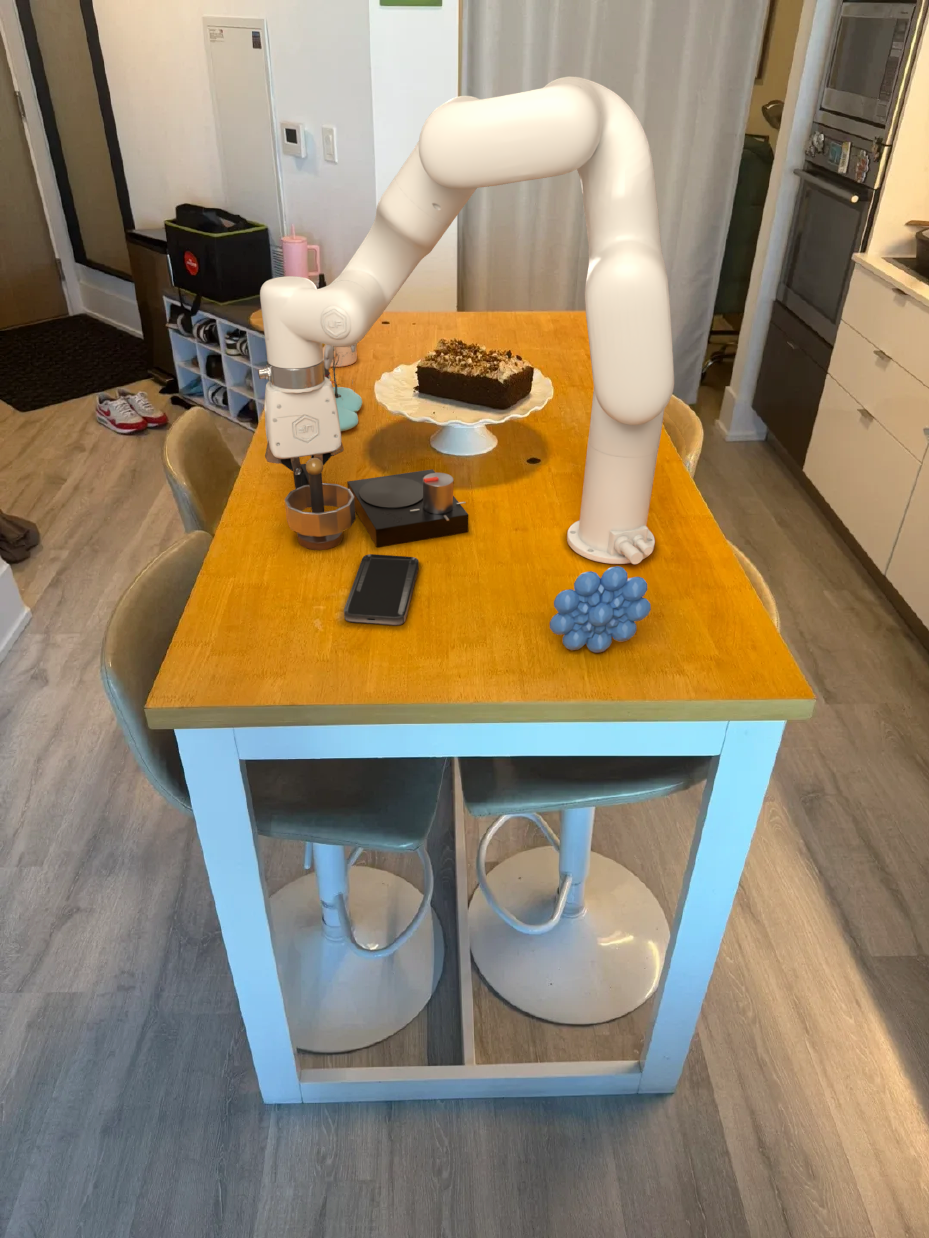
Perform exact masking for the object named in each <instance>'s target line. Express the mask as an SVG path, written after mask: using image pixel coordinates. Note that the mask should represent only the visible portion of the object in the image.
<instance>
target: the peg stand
mask: <svg viewBox="0 0 929 1238" xmlns="http://www.w3.org/2000/svg"><path fill="white" fill-rule="evenodd" d="M305 464H306V470H307V472H308V473H309V485H310V497H311V507H310V509H311V512H312V513H322V512H326V510H325V506H324V497H323V484H322V483H323V473H322V472H323V470H324V466H323V463H322V461H321V460H320V459H318V458H311V457H310V458H309V459H308V460H307V461H306V462H305ZM296 535H297V542H298V544H299V546H301V547H303V548H304V549H308V550H313V551H323V550H330V549H333V548H334V547H337V546H339V545H340V544H341V543H342V541H343V538H344V537H343V531H342V532H341V533H339V534H333V535H328V536H322V537H321V536H320V537H318V536H307V535H302V534H299V533H297V532H296Z"/></svg>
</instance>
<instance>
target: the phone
mask: <svg viewBox="0 0 929 1238" xmlns="http://www.w3.org/2000/svg"><path fill="white" fill-rule="evenodd" d="M419 561H420V560H419V559H418V558H417V557H415V556H407V555H406V556H405V555H404V556H402V555H392V554H391V555H389V554H374V553H369V554H366V555H363V557H362V558H361V560H360V564H359V566H358V570H357V572H356V575H355V578H354V580H353V583H352V586H351V589H350V591H349V594H348V597H347V599H346V602H345V604H344V605H345V606H344V609H343V618H344V621H346V622H348V623H354V624H368V625H369V624H370V625H385V626H401V625H403V624H404V623H405V622H406V620H407V616H408V612H409V608H410V604H411V600H412V597H413V592H414V588H415V584H416V581H417V576H418V573H419V568H420V567H419Z"/></svg>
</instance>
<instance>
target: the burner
mask: <svg viewBox="0 0 929 1238" xmlns="http://www.w3.org/2000/svg"><path fill="white" fill-rule="evenodd" d="M359 495H360V498H361V499H362V500H363V501H364V502H366V503H367V504H370V505H372V506H376V507H380V508H404V507H408V506H412V505H414V504H417V503H418V502H420V501H421V500H423V486H422V485H421V484H420V483H418V482H416V481H413V480H410V479H406V478H398V477H388V478H380V479H376V480H373V481H370V482H368V483H366V484H365V485H363V486H362V487H361V489H360V491H359Z"/></svg>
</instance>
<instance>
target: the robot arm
mask: <svg viewBox="0 0 929 1238" xmlns="http://www.w3.org/2000/svg"><path fill="white" fill-rule="evenodd" d="M574 171H577V174H578V177H579V179H580V180H579V181H580V186H581V192H582V204H583V213H584V218H585V224H586V236H587V249H588V269H587V273H586V280H585V286H584V309H585V318H586V326H587V327H586V328H587V335H588V345H589V354H590V363H591V373H592V382H593V392H592V403H591V413H590V421H589V432H588V439H587V448H586V457H585V466H584V476H583V483H582V484H583V486H582V494H581V503H580V512H579V520H577V521H575V522H573V523H572V524H571V525H570V527H569V528H568V530H567V534H566V541H567V544H568V546H569V547H570V549H572V550H573V551H574V553H576V554H578V555H579V556H580V557H583V558H586V559H588V560H590V561H593V562H597V563H601V564H610V565H625V564H632V565H638V564H639V563H641V562H642V561H643V560H644V559H646V558H648V557H649V556H650V555H651V554H652V553H653V552H654V549H655V543H656V539H655V536H654V534H653V532H652V531H651V530H650V529H649V527H648V526H647V524H648V519H649V511H650V504H651V499H652V493H653V492H652V491H653V486H654V478H655V472H656V467H657V460H658V453H659V448H660V443H661V436H662V429H663V423H664V416H665V409H666V407H667V406H668V404H669V403H670V400H671V399H672V396H673V393H674V388H675V372H674V371H675V368H674V367H675V366H674V350H673V349H674V348H673V332H672V315H671V300H670V289H669V278H668V272H667V266H666V262H665V259H664V255H663V250H662V243H661V231H660V217H659V216H660V215H659V205H658V197H657V186H656V176H655V167H654V161H653V155H652V150H651V146H650V143H649V140H648V137H647V134H646V132H645V130H644V128H643V125H642V123H641V121H640V120H639V118H638V116H637V114H636V113H635V112H634V110H633V109H632V108H631V106H630V105H629V104H628V103H627V102H626V101H625V100H624V99H623V98H622V97H621V96H620V95H618V94H617V93H616V92H615V91H613V90H611V89H610V88H608V87H606V86H605V85H603V84H600V83H598V82H596V81H593V80H590V79H588V78H584V77H579V76H563V77H559V78H557V79H553V80H552V81H550V82H549V83H547V84H545V86H544V87H540V88H536V89H531V90H525V91H521V92H515V93H510V94H504V95H499V96H494V97H493V96H492V97H488V98H481V99H480V98H478V97H475V96H471V95H460V96H456V97H453V98H451V99H449V100H448V101H445V102H444V103H442V104H441V105H439V106H437V107H436V108H435V109H434V110H433V111H432V112H431V113H430V114H429V115H428V117H427V118H426V119H425V121H424V123H423V125H422V127H421V130H420V133H419V138H418V142H416V144H415V146H414V148H413V149H412V151H411V152H410V154H409V155H408V157H407V158H406V159H405V161H404V163H403V164H402V165H401V167H400V169H399V170H398V171H397V173H396V174H395V176H394V177H393V178H392V180H391V182H390V183H389V185H388V186H387V187H386V189H385V190H384V192H383V193H382V194H381V196H380V198H379V201H378V203H377V205H376V208H375V209H376V211H375V217H374V220H373V223H372V225H371V227H370V229H369V231H368V233H367V234H366V236H365V237H364V239H363V240H362V242H361V244H360V245H359V246H358V248H357V250H356V251H355V252H354V254H353V255H352V257H351V259H349V261H348V263H347V264H346V266H344V269H343V270H342V271H341V272H340V274H339V275H338V276H337V277H336V278H335V279H334V280H333V281H332V282H330V283H329V284H328V285H326V286H323V287H320V288H318V287H317V286H316V284H315V283H314V282H313V281H312V280H310V279H309V278H306V277H302V276H292V275H290V276H289V275H288V276H278V277H273V278H270V279H268V280H266V281H265V282H264V283H263V284H262V285H261V287H260V290H259V299H260V308H261V316H262V325H263V326H262V327H263V333H264V342H265V351H266V358H267V360H266V364H265V367H262V368H258V369H257V375H258V378H259V380H267V382H266V384H265V390H264V424H265V425H264V426H265V435H266V442H267V444H266V449H265V453H264V458H265V460H266V462H267V463H272V464H277V465H279V464H280V465H283V466H284V467H286V468H287V469H289V470H290V471H291V472H292V473H293V483H294V490H295V489H297V488H299V487H301V486H304V485H307V484H306V474H305V472H304V470H303V468H302V466H301V464H302V463H301V459H300V458H303V457H310V459H311V458H318V459H320V460H321V461H322V463H323V467H324V466H325V465H326V464H327V462H328V461H329V460H330V459H331V457H334V456H336V455H339V454H340V453H342V452H344V451H345V446H344V444H343V442H342V431H341V430H340V423H339V416H338V410H337V404H336V398H335V394H334V390H333V387H334V386H333V383H331V381H332V380H331V379H328V378H327V377H325V372H324V360H323V347H322V343H323V344H327V345H331V346H336V347H348V346H352V345H355V344H357V345H358V343H359V342H361V341H362V340H363V339H364V338H365V336H366V335H367V334H368V332H369V331H370V330H371V329H372V327H373V326H374V325H375V323H376V322H378V320H379V319H380V318H381V316H382V315H383V313H385V311H386V310H387V307H389V305H390V304H391V302H392V301H393V300H394V298H395V297H396V295H397V293H399V291H400V289H401V288H402V287H403V285H404V284H405V283H406V281H407V280H408V279H409V277H410V275H411V274H412V273H413V272H414V270H415V269H416V268H417V266H418V265H419V263H420V262H421V261H422V260H423V259H425V257H427V256H428V255H429V254H431V252H432V251H433V250H434V249H435V247H436V245H437V244H438V242H440V240H441V239H442V237H443V236H444V235H445V234H446V232H447V230H448V229H449V227H450V226H451V225H452V223H453V222H454V220H455V219H456V218H457V216H458V215H459V213H460V212H461V211H462V209H463V208H464V207H465V205H466V204H467V203H468V201H469V200H470V199H471V197H472V196H473V194H474V193H475V192H476V190H477V189H481V188H489V187H497V186H503V185H509V184H514V183H520V182H527V181H534V180H541V179H548V178H553V177H558V176H562V175H566V174H570V173H572V172H574ZM330 380H331V381H330Z"/></svg>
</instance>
